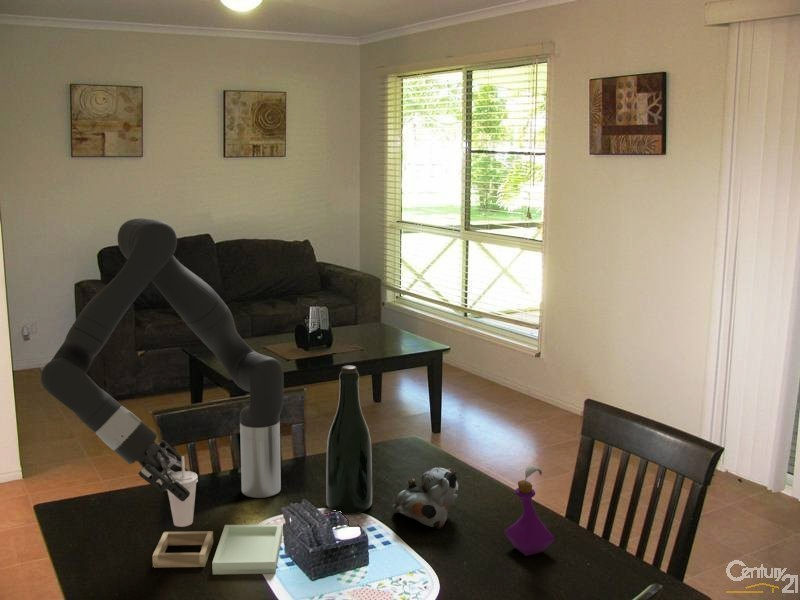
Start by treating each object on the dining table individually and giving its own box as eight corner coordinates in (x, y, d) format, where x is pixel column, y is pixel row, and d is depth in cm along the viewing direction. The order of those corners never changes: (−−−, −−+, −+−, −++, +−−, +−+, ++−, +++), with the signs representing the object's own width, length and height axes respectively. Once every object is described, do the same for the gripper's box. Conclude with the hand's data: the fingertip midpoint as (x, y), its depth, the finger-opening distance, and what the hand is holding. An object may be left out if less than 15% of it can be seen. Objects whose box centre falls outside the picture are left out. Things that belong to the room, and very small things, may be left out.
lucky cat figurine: (391, 505, 191) (417, 449, 192) (439, 528, 190) (464, 472, 191) (389, 515, 176) (417, 454, 177) (441, 540, 175) (469, 479, 176)
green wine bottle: (318, 510, 187) (317, 369, 181) (338, 493, 197) (338, 358, 191) (360, 519, 184) (360, 375, 177) (379, 500, 193) (380, 363, 187)
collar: (164, 543, 172) (163, 531, 171) (213, 542, 172) (213, 531, 172) (152, 567, 162) (152, 555, 161) (204, 566, 162) (204, 554, 162)
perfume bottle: (524, 561, 166) (528, 477, 162) (503, 545, 172) (506, 463, 169) (554, 553, 169) (558, 470, 166) (532, 538, 176) (536, 457, 172)
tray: (225, 535, 175) (225, 525, 175) (282, 534, 176) (282, 524, 175) (212, 574, 159) (212, 562, 159) (275, 573, 160) (275, 562, 160)
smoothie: (191, 531, 162) (188, 464, 159) (160, 528, 163) (157, 461, 161) (205, 516, 168) (202, 451, 166) (175, 513, 170) (172, 449, 167)
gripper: (129, 434, 154) (196, 493, 157) (148, 409, 168) (209, 463, 171) (102, 461, 155) (169, 519, 158) (123, 434, 169) (184, 487, 172)
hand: (190, 490), depth 165 cm, fingers closed on smoothie, 6 cm apart
